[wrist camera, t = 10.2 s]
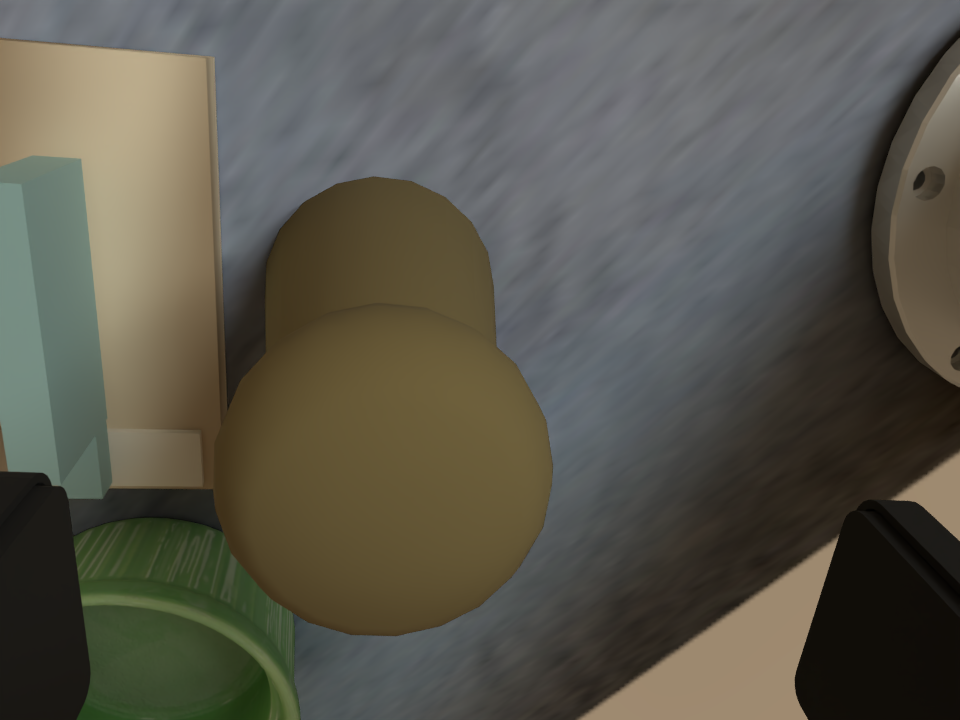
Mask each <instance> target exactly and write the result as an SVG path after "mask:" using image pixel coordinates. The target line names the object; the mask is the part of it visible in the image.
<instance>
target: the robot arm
mask: <svg viewBox="0 0 960 720" xmlns="http://www.w3.org/2000/svg"><path fill="white" fill-rule="evenodd" d="M871 239H872V264H873V274H874V278H875V282H876V286H877V290H878V294H879V298H880V302H881V306H882V308H883V310H884V312H885V314H886V316H887V318H888V320H889V322H890V324H891V326H892V328H893V330H894V332H895V333H896V335H897V337H898V338H899V340H900V341H901V342H902V343H903V344H904V345H905V346H906V348H907V349H908V350H909V351H910V352H911V353H912V354H913V355H914V357H915V358H916V359H917V360H918V361H919V362H920V363H922V364H923V365H925V366H926V367H928V368H929V369H931V370H932V371H934V372H935V373H937V374H938V375H939V376H941V377H942V378H944V379H945V380H947V381H949V382H950V383H952V384H954V385H956V386H958V387H960V38H959V39H958V40H957V41H956V42H955V43H954V44H953V45H952V46H951V47H950V48H949V49H948V51H947V52H946V53H945V54H944V55H943V57H942V58H941V60H940V61H939V62H938V64H937V65H936V67H935V68H934V70H933V71H932V72H931V74H930V75H929V77H928V78H927V80H926V81H925V82H924V84H923V85H922V87H921V88H920V90H919V91H918V92H917V94H916V95H915V97H914V99H913V101H912V103H911V105H910V107H909V109H908V111H907V113H906V115H905V117H904V119H903V121H902V123H901V125H900V127H899V129H898V131H897V133H896V135H895V137H894V139H893V141H892V143H891V147H890V150H889V153H888V156H887V159H886V162H885V165H884V168H883V171H882V175H881V178H880V181H879V184H878V187H877V194H876V201H875V208H874V215H873V222H872V228H871ZM90 676H91V670H90V661H89V653H88V645H87V638H86V630H85V623H84V615H83V608H82V600H81V593H80V585H79V578H78V570H77V563H76V555H75V548H74V540H73V533H72V525H71V517H70V510H69V502H68V497H67V493H66V491H65V489H64V488H63V487H61V486H52V483H51V481H50V479H49V477H48V475H46V474H44V473H39V472H9V471H0V720H77V718H78V716H79V713H80V711H81V709H82V707H83V705H84V703H85V700H86V697H87V694H88V690H89V685H90ZM795 689H796V695H797V699H798V701H799V704H800V706H801V707H802V709H803V711H804V713H805V715H806V716H807V718H808V720H960V541H959V540H958V539H957V538H956V537H954V536H953V535H952V534H951V533H950V532H949V531H948V530H947V529H946V528H945V527H944V526H943V525H942V524H940V523H939V522H938V521H937V520H936V519H935V518H934V517H933V516H932V515H931V514H930V513H928V512H927V511H926V510H925V509H924V508H923V507H922V506H920V505H919V504H918V503H916V502H911V501H894V500H867V501H864V502H863V503H862V504H861V505H860V506H859V507H858V508H857V510H856V511H852V512H850V513H849V514H848V515H847V516H846V518H845V520H844V523H843V526H842V529H841V532H840V535H839V538H838V542H837V545H836V548H835V551H834V554H833V557H832V560H831V564H830V567H829V570H828V573H827V576H826V579H825V582H824V586H823V589H822V592H821V595H820V598H819V601H818V605H817V608H816V611H815V614H814V617H813V620H812V623H811V626H810V630H809V633H808V636H807V639H806V642H805V645H804V648H803V652H802V655H801V658H800V661H799V664H798V667H797V671H796V675H795Z"/></svg>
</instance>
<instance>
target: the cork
mask: <svg viewBox="0 0 960 720" xmlns="http://www.w3.org/2000/svg"><path fill="white" fill-rule="evenodd" d="M265 331H266V353H265V354H264V355H263V357H262V358H261V359H260V360H259V361H258V362H257V363H256V364H255V365H254V366H253V367H252V368H251V370H250V371H249V372H248V373H247V374H246V375H245V376H244V377H243V378H242V379H241V381H240V383H239V385H238V388H237V390H236V392H235V395H234V397H233V399H232V402H231V404H230V406H229V409H228V411H227V414H226V416H225V418H224V421H223V423H222V426H221V428H220V430H219V433H218V435H217V438H216V440H215V442H214V476H213V494H214V502H215V510H216V513H217V516H218V519H219V521H220V524H221V527H222V530H223V532H224V535H225V538H226V541H227V543H228V546H229V549H230V551H231V554H232V555H233V556H234V557H235V558H236V560H237V561H238V562H239V563H240V564H241V566H242V567H243V568H244V569H245V570H246V572H247V573H248V574H249V575H250V576H251V578H252V579H253V580H254V581H255V582H256V583H257V585H258V586H259V587H260V588H261V589H262V590H263V591H264V592H265V593H266V594H267V595H268V596H269V598H270V599H272V600H273V601H275V602H276V603H278V604H280V605H281V606H283V607H284V608H286V609H288V610H289V611H291V612H292V613H294V614H296V615H297V616H299V617H300V618H302V619H304V620H305V621H307V622H308V623H312V624H315V625H319V626H322V627H326V628H329V629H333V630H336V631H340V632H343V633H347V634H350V635H378V636H399V635H403V634H408V633H412V632H416V631H421V630H425V629H430V628H434V627H439V626H442V625H444V624H446V623H448V622H450V621H451V620H453V619H455V618H457V617H459V616H461V615H463V614H465V613H467V612H469V611H471V610H473V609H475V608H477V607H479V606H480V605H481V604H483V603H484V602H485V601H486V600H487V599H488V598H489V597H490V596H491V595H492V594H494V593H495V592H496V591H497V590H498V589H499V588H500V587H501V586H502V585H503V584H504V583H506V582H507V581H508V580H509V579H510V578H511V577H512V576H513V574H514V573H515V572H516V571H517V569H518V568H519V567H520V565H521V564H522V562H523V560H524V559H525V557H526V555H527V553H528V552H529V550H530V548H531V547H532V545H533V543H534V542H535V540H536V538H537V537H538V535H539V533H540V532H541V530H542V528H543V525H544V520H545V515H546V511H547V506H548V501H549V496H550V491H551V486H552V473H553V463H552V456H551V450H550V443H549V436H548V430H547V423H546V419H545V417H544V415H543V413H542V411H541V409H540V407H539V405H538V403H537V401H536V399H535V398H534V396H533V394H532V392H531V390H530V389H529V387H528V385H527V383H526V381H525V380H524V378H523V376H522V374H521V372H520V371H519V369H518V367H517V365H516V364H515V363H514V362H513V361H512V360H511V359H510V358H509V357H507V356H506V355H505V354H504V353H503V352H502V351H501V350H499V349H498V348H497V346H496V325H495V304H494V285H493V280H492V274H491V268H490V262H489V256H488V252H487V250H486V248H485V246H484V244H483V243H482V241H481V239H480V237H479V235H478V233H477V231H476V230H475V228H474V226H473V224H472V222H471V221H470V220H469V219H468V218H467V217H466V216H465V215H464V214H462V213H461V212H460V211H459V210H458V209H457V208H456V207H455V206H454V205H453V204H452V203H451V202H450V201H449V200H448V199H447V198H446V197H444V196H442V195H440V194H437V193H435V192H433V191H431V190H429V189H427V188H425V187H423V186H420V185H418V184H416V183H414V182H412V181H405V180H397V179H389V178H381V177H369V178H364V179H359V180H354V181H348V182H343V183H338V184H335V185H334V186H332V187H330V188H328V189H327V190H325V191H323V192H321V193H319V194H318V195H316V196H314V197H312V198H311V199H309V200H307V201H305V202H304V203H303V204H302V205H301V206H300V207H299V209H298V210H297V211H296V212H295V213H294V214H293V215H292V216H291V218H290V219H289V220H288V221H287V222H286V223H285V224H284V225H283V227H282V228H281V229H280V231H279V233H278V236H277V238H276V240H275V243H274V245H273V248H272V250H271V253H270V255H269V258H268V260H267V264H266V285H265Z"/></svg>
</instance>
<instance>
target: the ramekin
mask: <svg viewBox="0 0 960 720" xmlns="http://www.w3.org/2000/svg"><path fill="white" fill-rule="evenodd" d="M73 540H74V548H75V555H76V563H77V570H78V578H79V585H80V593H81V600H82V608H83V615H84V623H85V630H86V638H87V645H88V653H89V661H90V670H91V676H90V685H89V690H88V694H87V697H86V700H85V703H84V705H83V707H82V709H81V711H80V713H79V716H78V718H77V720H301V719H300V707H299V700H298V695H297V690H296V686H295V683H294V652H295V626H294V619H293V613H292V612H291V611H289V610H288V609H286V608H284V607H283V606H281V605H280V604H278V603H276V602H275V601H273V600H272V599H270V598H269V596H268V595H267V594H266V593H265V592H264V591H263V590H262V589H261V588H260V587H259V586H258V585H257V583H256V582H255V581H254V580H253V579H252V578H251V576H250V575H249V574H248V573H247V572H246V570H245V569H244V568H243V567H242V566H241V564H240V563H239V562H238V561H237V560H236V558H235V557H234V556H233V555H232V554H231V551H230V549H229V546H228V543H227V541H226V538H225V535H224V533H223V532H221V531H219V530H216V529H213V528H211V527H208V526H206V525H201V524H197V523H193V522H188V521H183V520H176V519H169V518H134V519H127V520H121V521H116V522H110V523H106V524H103V525H100V526H98V527H95V528H91V529H88V530H86V531H84V532H82V533H80V534H78V535H76V536H73Z"/></svg>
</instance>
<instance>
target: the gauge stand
mask: <svg viewBox="0 0 960 720" xmlns="http://www.w3.org/2000/svg"><path fill="white" fill-rule="evenodd" d="M32 155H34V156H49V157H63V158H78V159H81V162H82V172H83V182H84V192H85V202H86V212H87V222H88V231H89V241H90V251H91V261H92V271H93V281H94V291H95V301H96V310H97V320H98V330H99V340H100V350H101V360H102V370H103V380H104V389H105V399H106V409H107V419H106V423H107V433H108V443H109V453H110V462H111V472H112V484H111V486H110V487H109V488H128V489H213V476H214V442H215V440H216V438H217V435H218V433H219V430H220V428H221V426H222V423H223V421H224V418H225V416H226V414H227V387H226V360H225V333H224V306H223V279H222V251H221V224H220V197H219V170H218V143H217V116H216V89H215V62H214V57H210V56H199V55H187V54H176V53H165V52H153V51H142V50H131V49H119V48H108V47H97V46H85V45H74V44H63V43H51V42H40V41H29V40H18V39H6V38H0V167H1V166H4V165H7V164H10V163H12V162H15V161H18V160H21V159H24V158H27V157H29V156H32ZM0 471H8V467H7V460H6V454H5V448H4V442H3V435H2V429H1V423H0ZM52 486H58V485H52Z"/></svg>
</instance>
